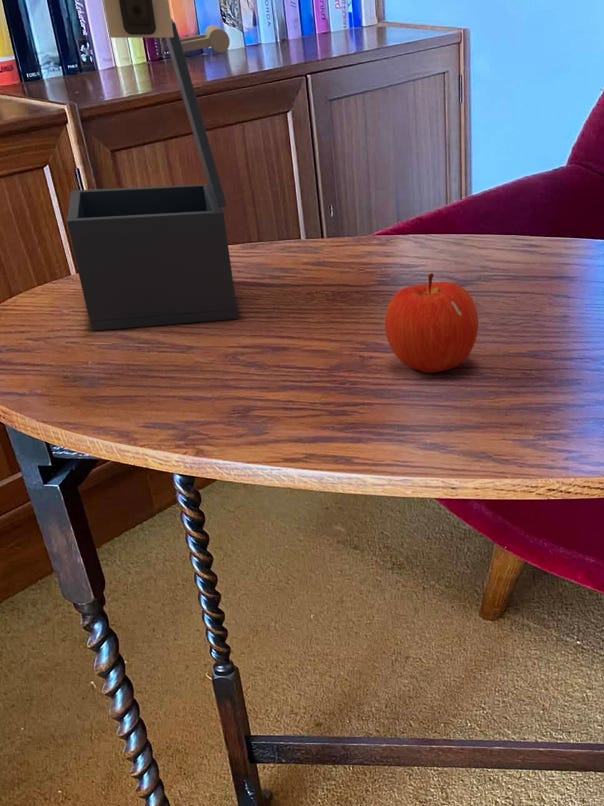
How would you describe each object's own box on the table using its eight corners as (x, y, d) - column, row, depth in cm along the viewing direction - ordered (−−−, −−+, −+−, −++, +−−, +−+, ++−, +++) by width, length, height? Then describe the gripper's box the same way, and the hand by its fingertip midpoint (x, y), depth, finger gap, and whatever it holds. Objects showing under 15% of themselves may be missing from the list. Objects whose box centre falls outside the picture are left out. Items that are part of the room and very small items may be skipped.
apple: (496, 369, 85) (498, 275, 80) (422, 389, 80) (419, 292, 76) (442, 344, 90) (441, 255, 85) (369, 363, 86) (364, 270, 81)
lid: (165, 24, 80) (226, 12, 81) (158, 14, 91) (212, 4, 92) (218, 207, 89) (273, 195, 90) (206, 179, 100) (255, 169, 101)
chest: (91, 331, 92) (66, 220, 86) (93, 290, 102) (71, 190, 97) (238, 318, 95) (223, 212, 89) (225, 281, 106) (211, 183, 100)
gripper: (33, -274, 65) (89, 25, 75) (14, -318, 54) (83, 39, 64) (148, -266, 67) (188, 25, 77) (153, -307, 56) (198, 39, 66)
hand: (140, 30), depth 70 cm, fingers closed on block, 4 cm apart
